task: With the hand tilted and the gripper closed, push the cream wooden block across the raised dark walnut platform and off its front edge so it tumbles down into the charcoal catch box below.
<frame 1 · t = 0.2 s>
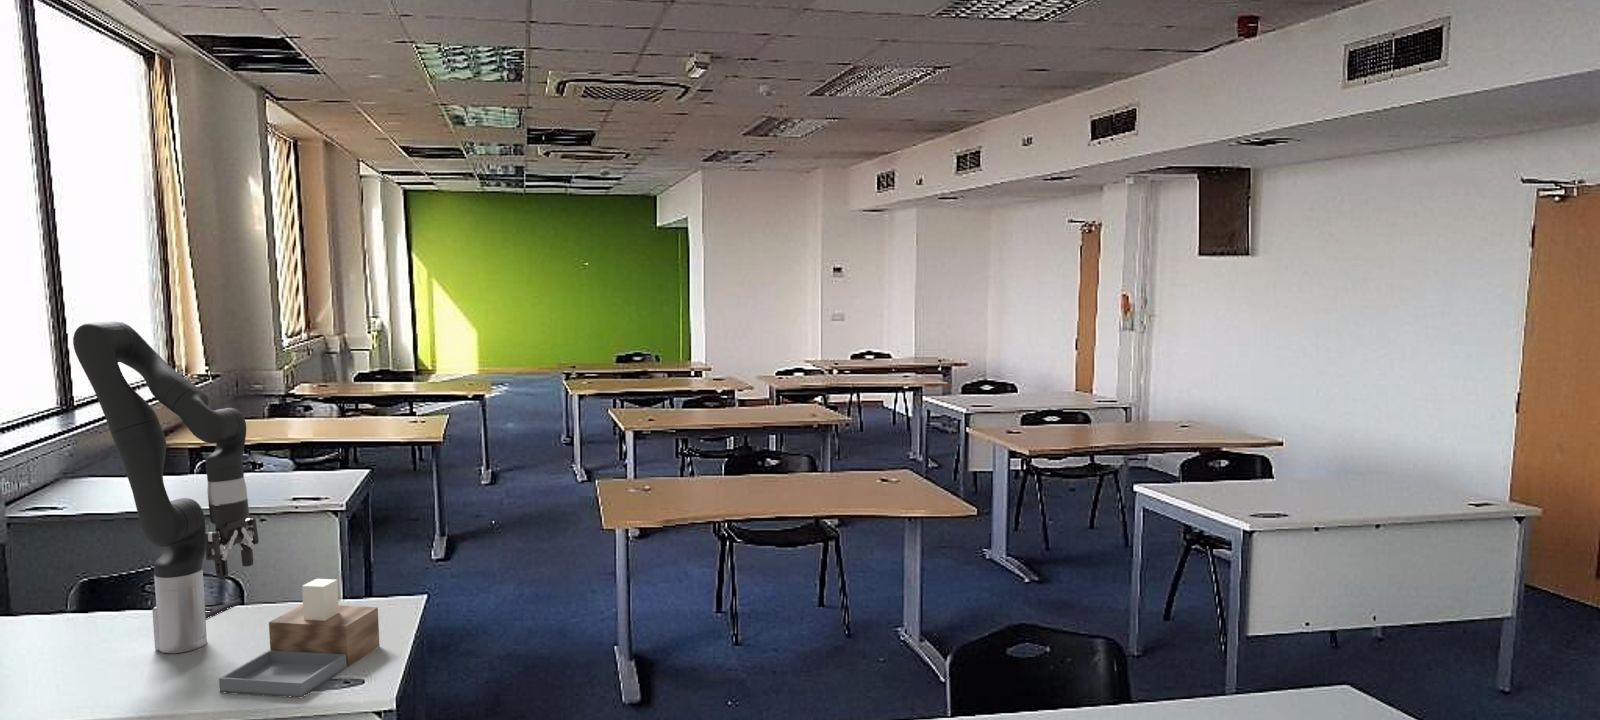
hand: (235, 571, 224), 18 cm above the table, tool pointing down, fingers open, 8 cm apart
cream block: (321, 616, 221), point 9 cm above the table, touching walnut platform
walnut platform: (326, 654, 222), on the table
bracket: (195, 613, 252), on the table
catch box: (285, 680, 209), on the table
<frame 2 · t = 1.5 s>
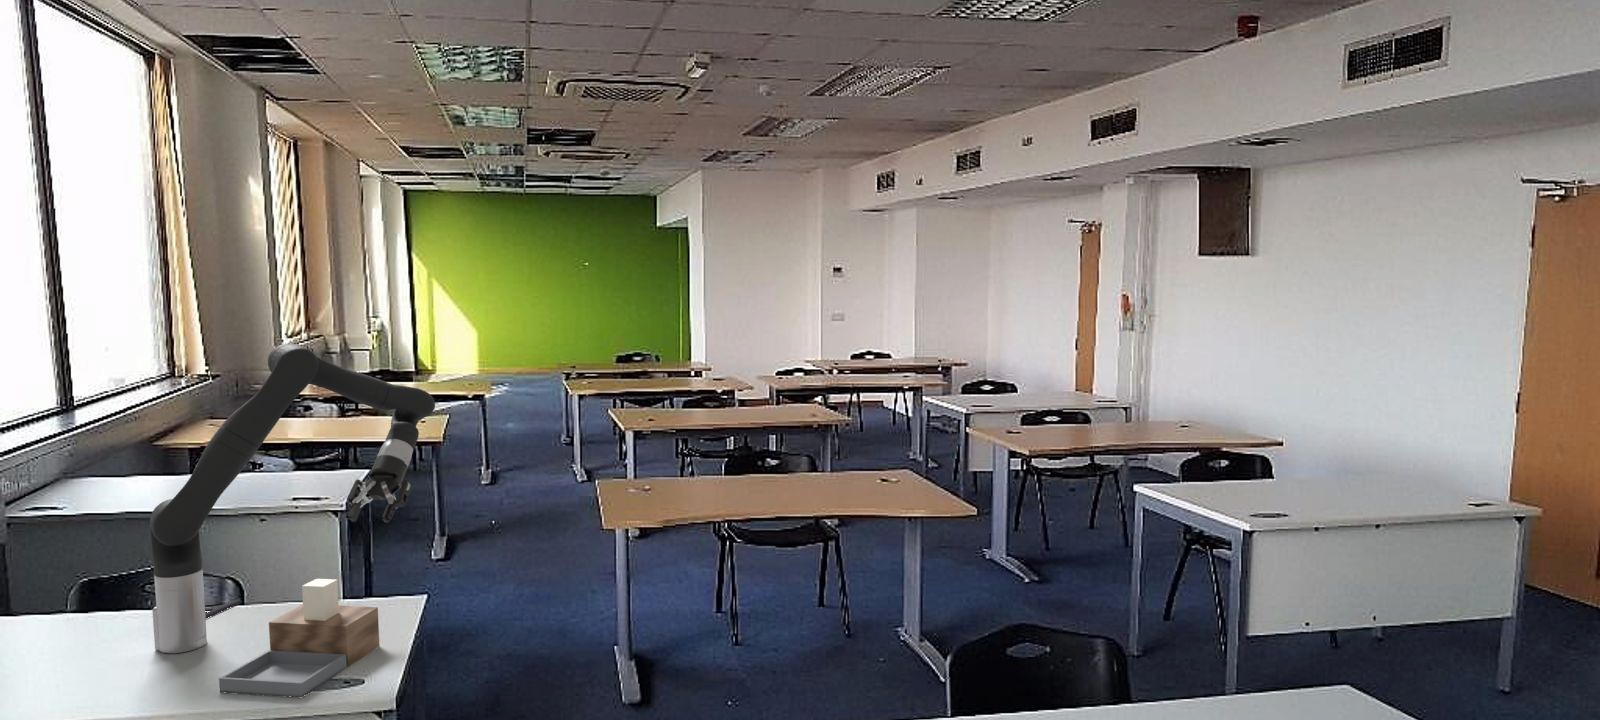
hand: (368, 520, 238), 26 cm above the table, tool tilted 45°, fingers open, 8 cm apart
nothing on the table moved.
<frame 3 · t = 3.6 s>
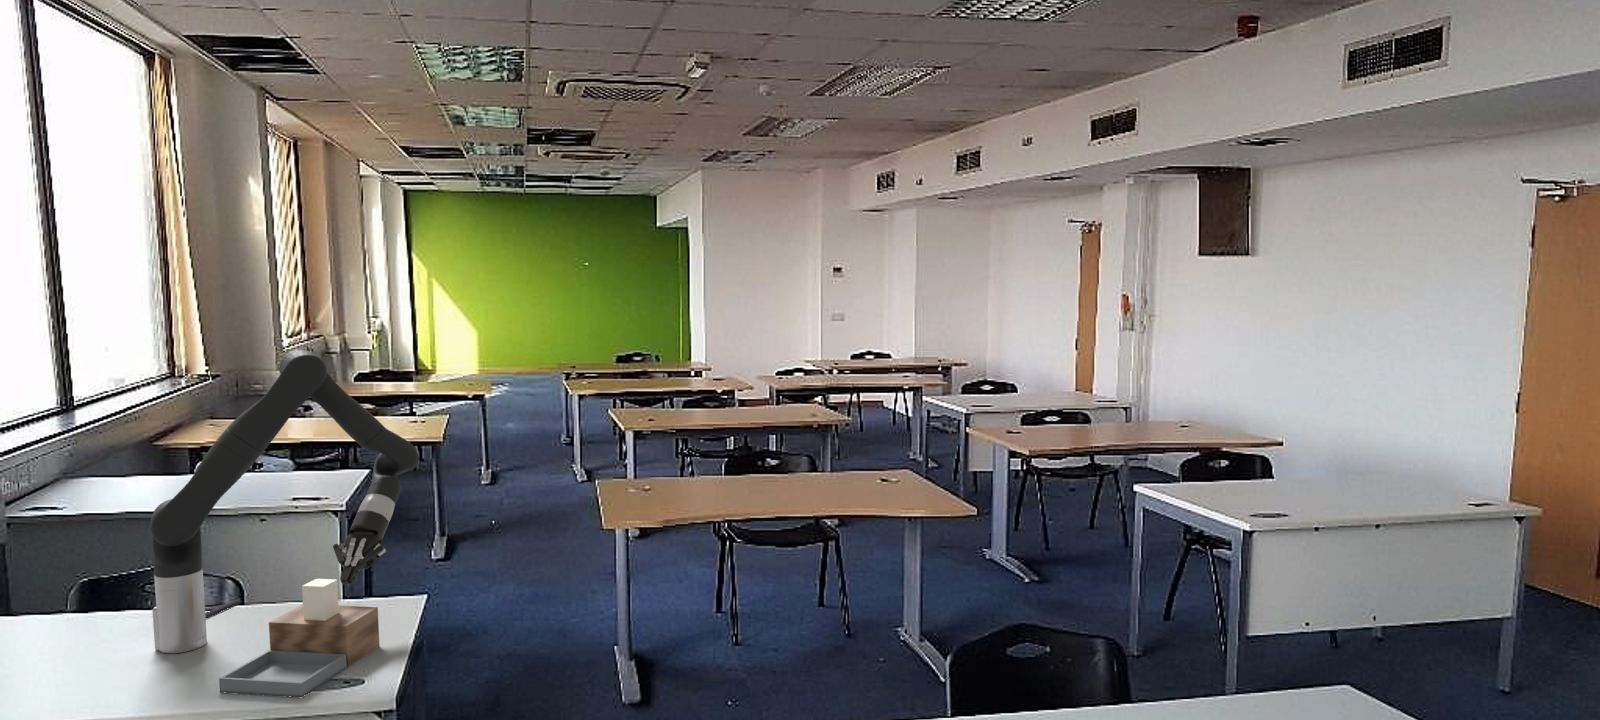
hand: (345, 583, 229), 13 cm above the table, tool tilted 45°, fingers closed
nothing on the table moved.
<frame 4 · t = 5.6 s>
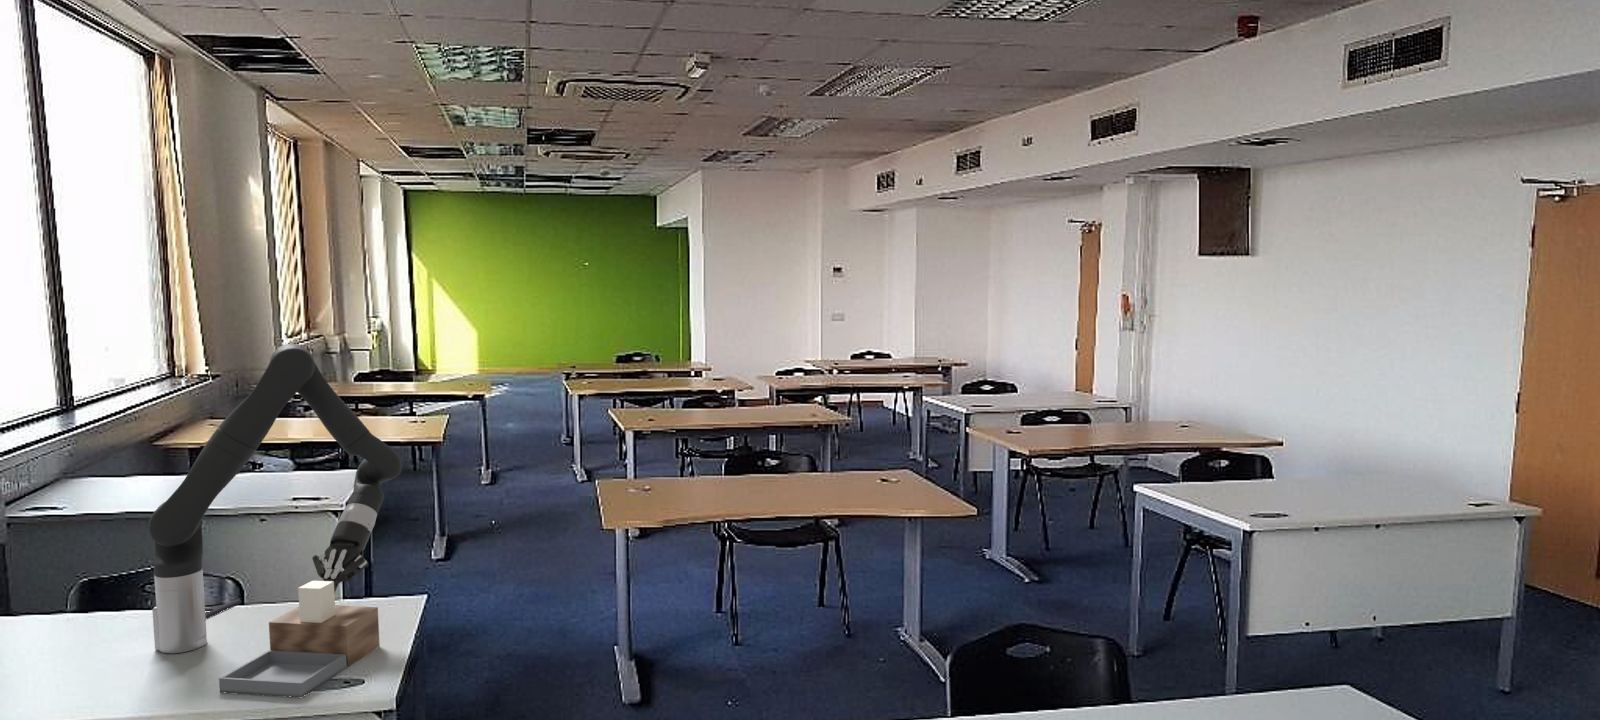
hand: (325, 596, 222), 13 cm above the table, tool tilted 45°, fingers closed
cream block: (317, 618, 219), point 9 cm above the table, touching gripper
everything else where it was.
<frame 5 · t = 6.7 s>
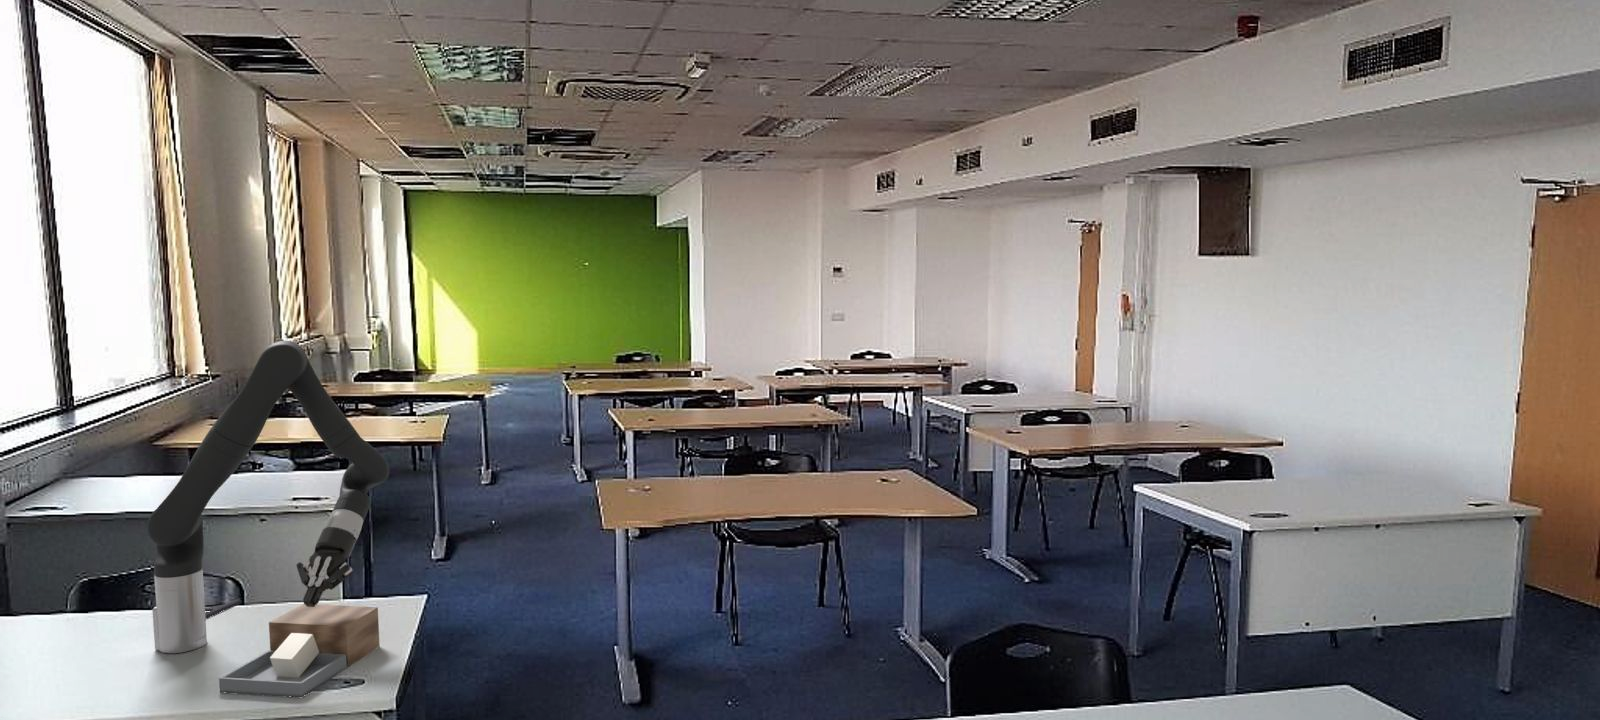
hand: (308, 605, 216), 13 cm above the table, tool tilted 45°, fingers closed
cream block: (305, 642, 214), point 6 cm above the table, tilted 111°, touching catch box
everything else where it was.
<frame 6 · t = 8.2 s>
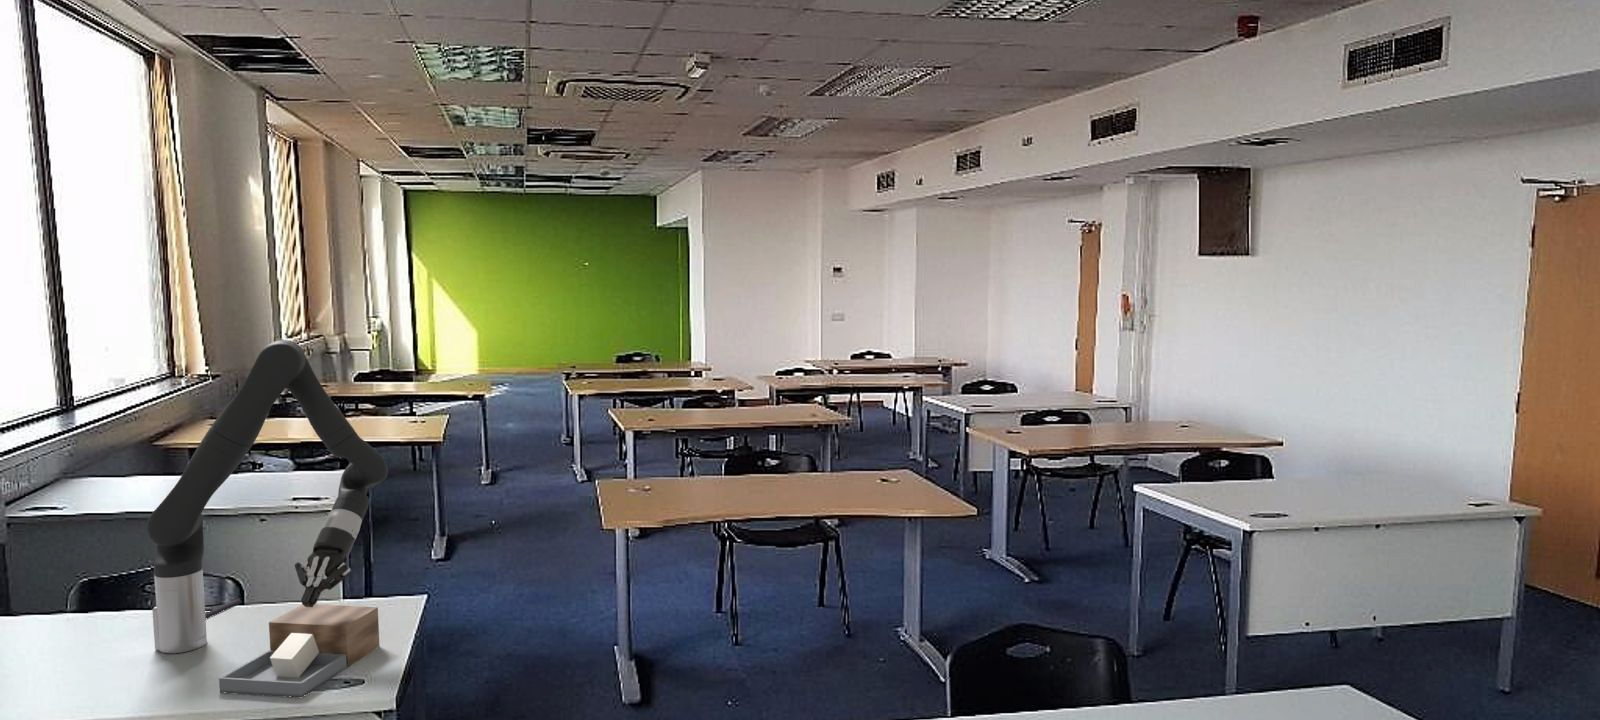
hand: (306, 605, 216), 13 cm above the table, tool tilted 45°, fingers closed
nothing on the table moved.
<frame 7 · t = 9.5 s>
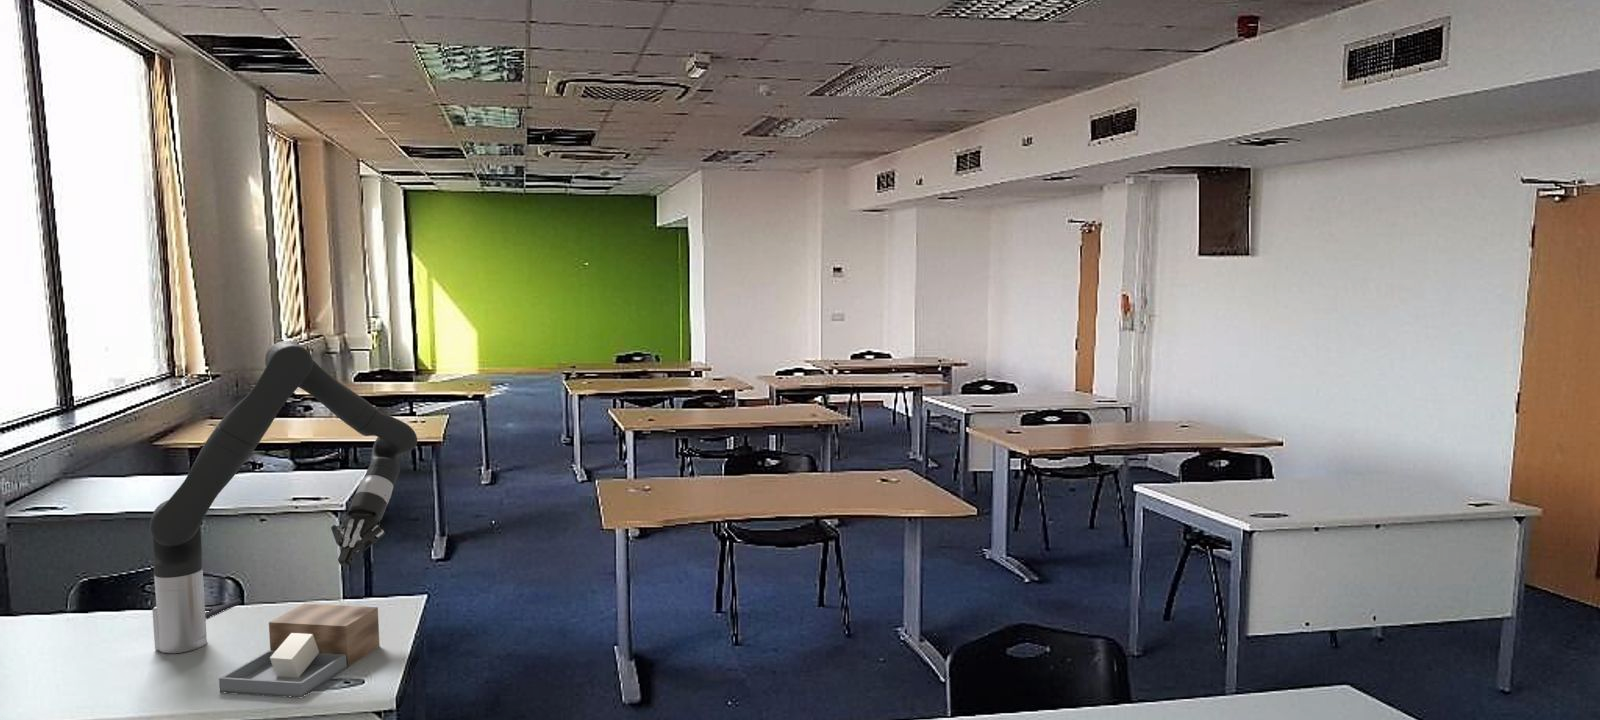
hand: (343, 564, 228), 18 cm above the table, tool tilted 45°, fingers closed
nothing on the table moved.
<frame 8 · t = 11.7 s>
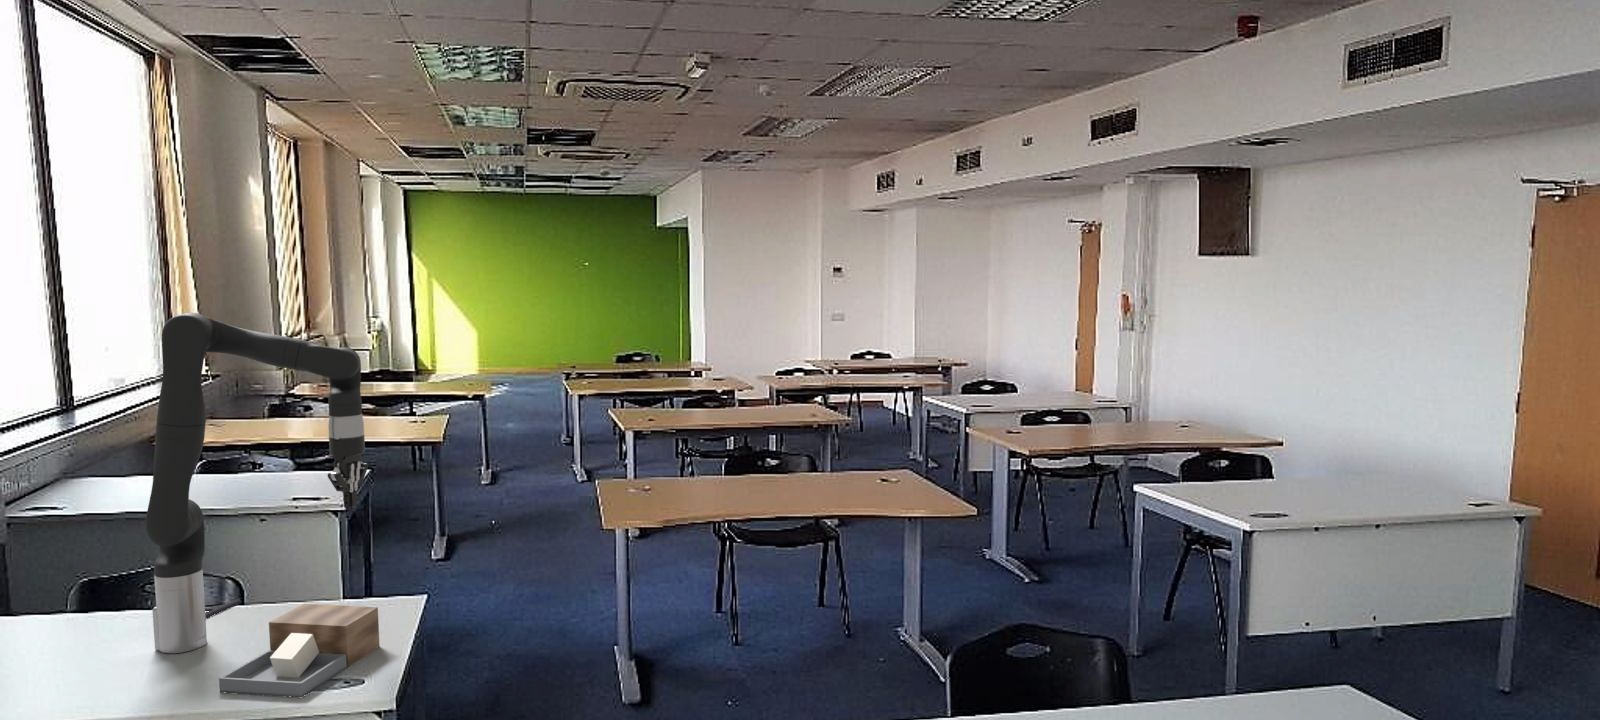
hand: (350, 507, 236), 29 cm above the table, tool pointing down, fingers closed
nothing on the table moved.
at the end: cream block inside the target area (6.2 cm from its centre), point 5.5 cm above the table; cream block touching catch box; the gripper is holding nothing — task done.
